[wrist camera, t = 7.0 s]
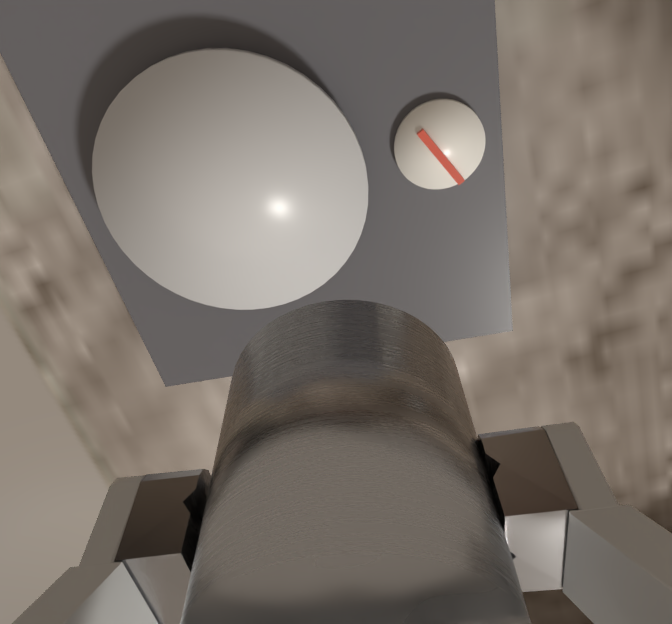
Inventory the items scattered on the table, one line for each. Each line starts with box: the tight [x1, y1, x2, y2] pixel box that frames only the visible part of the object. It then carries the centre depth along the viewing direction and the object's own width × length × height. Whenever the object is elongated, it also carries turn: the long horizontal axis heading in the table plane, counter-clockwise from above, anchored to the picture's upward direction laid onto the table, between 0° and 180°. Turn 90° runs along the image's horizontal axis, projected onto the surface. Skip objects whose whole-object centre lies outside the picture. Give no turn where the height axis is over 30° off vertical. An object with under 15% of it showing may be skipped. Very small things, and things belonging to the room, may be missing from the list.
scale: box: [0, 0, 513, 387], centre depth 25 cm, size 18×20×4 cm
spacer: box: [180, 300, 531, 624], centre depth 9 cm, size 4×4×5 cm
